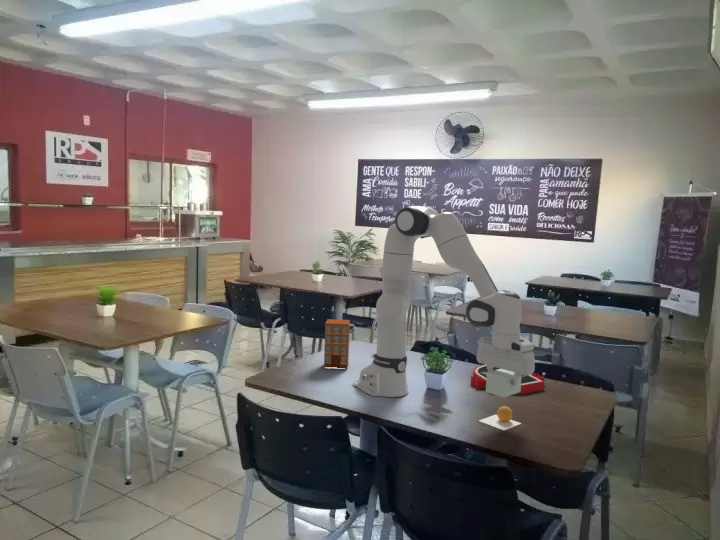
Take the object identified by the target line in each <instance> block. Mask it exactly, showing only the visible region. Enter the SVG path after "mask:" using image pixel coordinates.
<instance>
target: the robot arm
mask: <svg viewBox="0 0 720 540" xmlns="http://www.w3.org/2000/svg"><path fill="white" fill-rule="evenodd" d="M394 221H395V223H393V224H391V225H389V227H388V228H387V233H386V237H385V242H384V245H383V247H384V248H383V254H382V255H383V257H382V269H381V275H382V276H381V277H382V292H381V295H380V296H379V297H378V298H377V301H376V303H375V304H376V305H375V310H376V312H375V314H376V329H377V336H376V337H377V338H376V339H377V341H376V353H375V354H373V353H372V355H371V358H372V362H371V363H370V364H368V365H367V366H365V367H364V368H362V369H361V371H360V373H359V379H358V380H357V379H356V380H354V382H352V385H353V386H354V385H355V386H357V387H358V388H357V387H356V388H357V389H359V388H360V389H361V390H360V389H359V390H360V391H362V390H363V391H362V392H364V391H365V392H364V393H366V394H367V393H368V395H369V394H370V395H369V396H371V397H387V398H398V397H403V396H406V395H408V394H409V389H408V387H409V385H408V380H407V378H408V377H407V363H408V356H407V339H408V335H407V312H408V311H409V310H410V306H411V302H412V301H411V300H412V299H411V298H412V272H413V260H414V250H415V243H416V242H417V240H418V239H419V238H420V239H425V238H429V237H431V238H432V239H433V241H434V243H435V246H436V248H437V250H438V253H439V255H440V257H441V259H442V260H443V261H444V263H445V265H446V266H447V267H450V268H452V269H453V270H454V269H455V270H456V271H459V272H461V273H463V274H465V275H466V276H467V277H468V278H469V279H470V280H471V281H472V284H473V285H474V288H475V289H476V291H477V293H478V295H479V298H476V299H473V300H471V301H470V302H469V303H467V305H466V309H465V316H466V319H467V321H468V323H470V325H472V326H473V327H477V328H486V327H489V328H491V329H492V330H491V331H492V333H491V335H492V336H486V335H482V336H481V337H480V338H479V340H478V348H477V351H476V361H477V363H479V364H481V365H485V364H486V365H487V369H488V372H490V371H493V368H494V367H497V368H500V369H504V370H508V371H512V372H514V375H515V376H516V377H515V378H514V379H512V380H511V385H514V386H517V385H518V380H519V378H520V377H521V376H522V374H523V375H530V374H534V372H535V368H536V365H535V364H536V360H535V353H534V351H533V350H534V349H535V344H534V343H533V342H531V341H529V340H528V339H527V338H525V337H523V336H521V328H520V324H521V322H522V312H523V311H522V309H523V308H522V300H521V297H520V295H519V294H518V293H516V292H514V291H510V290H506V289H500V290H498V288H497V285H496V284H495V282H494V281H493V279H492V277H491V275H490V273H489V272H488V270H487V268H486V267H485V264H484V263H483V261H482V260H481V258H480V257H479V255H478V254H477V252H476V251H475V248H474V246H473V245H472V243H471V240H470V238H469V236H468V234H467V232H466V230H465V228H464V226H463V225H462V223H461V221H460V220H459V218H458V217H457V216H456V214H454V213H453V212H451V211H450V212H449V211H444V212H442V211H440V210H439V209H437V208H435V207H431V206H426V205H415V206H414V205H410V206H409V205H408V206H405V207H403V208H401V209H400V210H399V211H398V212H397V213H396V216H395V220H394ZM355 386H354V387H355Z"/></svg>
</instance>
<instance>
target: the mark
mask: <svg viewBox="0 0 720 540" xmlns="http://www.w3.org/2000/svg"><path fill="white" fill-rule="evenodd" d="M478 422H479V423H481V424H484V425H487V426H491V427H493V428H496V429H498V430H501V431H503V432H504V431H507V430H510V429H512V428H514V427H517V426H518V427H519V426H520V425H522V423H521V422H519V421H515V420H512V419H511V420H509V421H507V422H503V421H501V420H500V419H499V418H498V416H497V414H493V415H490V416H488V417H485V418H481V419H479V420H478Z"/></svg>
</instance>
